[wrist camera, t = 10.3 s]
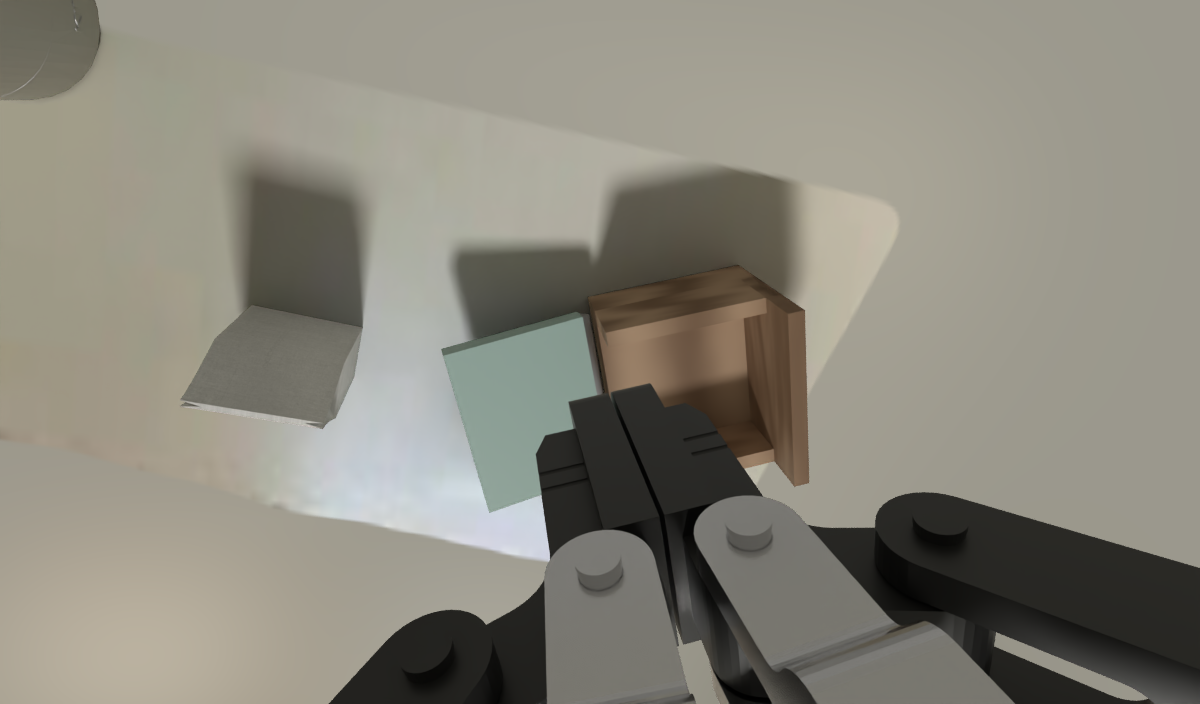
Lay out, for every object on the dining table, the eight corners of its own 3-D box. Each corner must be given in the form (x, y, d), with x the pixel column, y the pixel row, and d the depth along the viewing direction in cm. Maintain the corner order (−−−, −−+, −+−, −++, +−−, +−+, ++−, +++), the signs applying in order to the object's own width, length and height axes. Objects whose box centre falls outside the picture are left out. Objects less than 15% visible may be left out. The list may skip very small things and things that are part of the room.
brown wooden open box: (613, 441, 48) (644, 523, 39) (587, 297, 43) (615, 352, 34) (748, 410, 49) (809, 482, 40) (738, 265, 44) (804, 310, 35)
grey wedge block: (251, 304, 39) (181, 369, 30) (362, 327, 41) (328, 394, 32) (246, 356, 40) (177, 433, 31) (354, 376, 42) (318, 454, 33)
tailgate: (612, 459, 46) (486, 503, 43) (585, 309, 41) (441, 349, 38) (618, 467, 44) (489, 512, 42) (591, 314, 40) (443, 355, 37)
